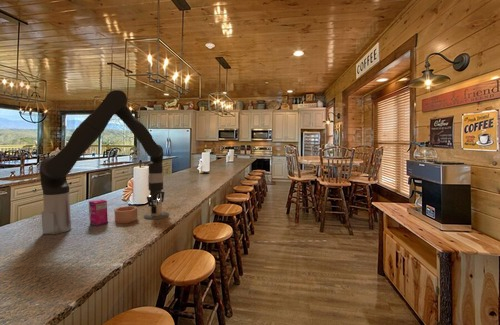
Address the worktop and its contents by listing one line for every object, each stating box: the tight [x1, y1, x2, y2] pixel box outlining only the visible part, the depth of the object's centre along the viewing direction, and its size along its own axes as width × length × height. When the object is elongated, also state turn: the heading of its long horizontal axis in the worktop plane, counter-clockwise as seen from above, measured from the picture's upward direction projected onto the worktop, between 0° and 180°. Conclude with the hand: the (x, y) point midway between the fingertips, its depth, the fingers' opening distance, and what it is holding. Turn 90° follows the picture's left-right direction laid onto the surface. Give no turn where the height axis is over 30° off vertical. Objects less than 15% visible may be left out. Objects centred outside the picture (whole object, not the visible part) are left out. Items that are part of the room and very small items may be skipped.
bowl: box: [113, 205, 138, 224], centre depth 126 cm, size 10×10×6 cm
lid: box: [143, 202, 170, 221], centre depth 134 cm, size 13×13×7 cm
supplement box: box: [88, 199, 109, 227], centre depth 119 cm, size 6×6×12 cm
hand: (156, 212), depth 134 cm, fingers open, 4 cm apart
